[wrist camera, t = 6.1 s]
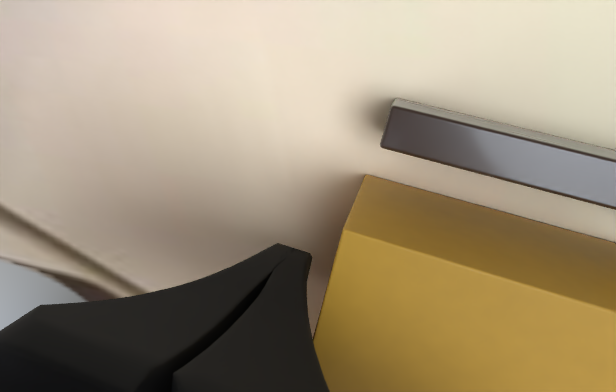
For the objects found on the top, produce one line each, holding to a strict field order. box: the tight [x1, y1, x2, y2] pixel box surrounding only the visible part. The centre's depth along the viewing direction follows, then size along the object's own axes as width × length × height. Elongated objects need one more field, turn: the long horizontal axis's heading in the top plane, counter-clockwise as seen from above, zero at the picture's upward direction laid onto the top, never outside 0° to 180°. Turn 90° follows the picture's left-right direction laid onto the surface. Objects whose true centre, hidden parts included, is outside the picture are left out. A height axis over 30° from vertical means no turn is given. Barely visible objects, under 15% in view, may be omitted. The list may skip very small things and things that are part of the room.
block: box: [313, 175, 616, 392], centre depth 10 cm, size 7×7×4 cm
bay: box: [380, 98, 616, 210], centre depth 11 cm, size 12×9×2 cm
